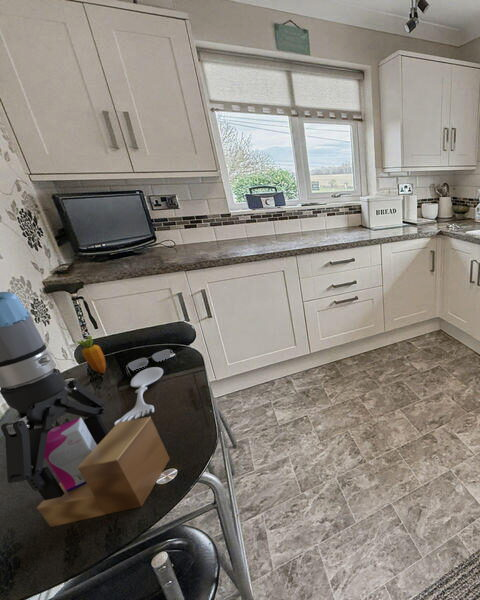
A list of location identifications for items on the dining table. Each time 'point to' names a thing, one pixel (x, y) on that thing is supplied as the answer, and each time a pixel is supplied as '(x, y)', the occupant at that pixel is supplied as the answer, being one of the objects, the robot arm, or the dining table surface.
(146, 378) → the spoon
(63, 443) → the supplement box
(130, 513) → the dining table surface
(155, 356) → the eyeglasses
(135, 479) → the wooden stepped block
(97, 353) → the carrot
